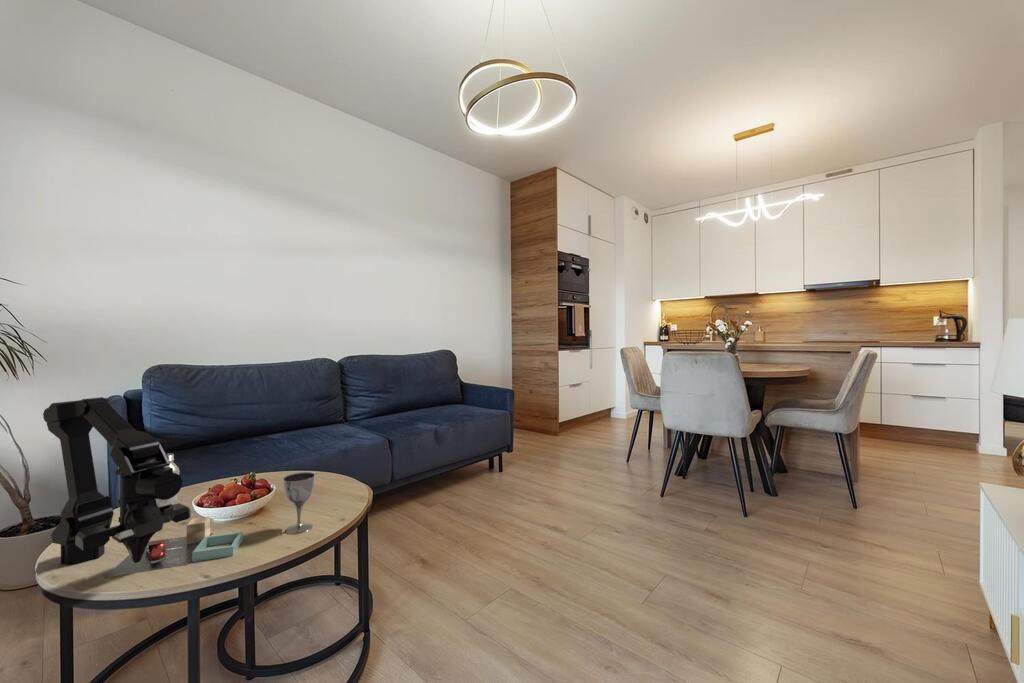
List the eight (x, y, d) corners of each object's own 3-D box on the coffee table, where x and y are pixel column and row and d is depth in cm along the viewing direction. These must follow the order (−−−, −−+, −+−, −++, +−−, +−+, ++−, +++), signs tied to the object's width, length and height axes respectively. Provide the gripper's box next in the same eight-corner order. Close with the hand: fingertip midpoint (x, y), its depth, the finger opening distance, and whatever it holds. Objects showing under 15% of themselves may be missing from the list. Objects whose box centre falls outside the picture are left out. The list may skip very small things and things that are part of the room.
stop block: (186, 544, 106) (186, 525, 106) (192, 537, 109) (192, 518, 109) (204, 541, 107) (204, 522, 107) (210, 534, 111) (210, 516, 111)
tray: (192, 565, 97) (192, 552, 97) (205, 548, 105) (205, 536, 105) (233, 558, 100) (233, 546, 100) (242, 542, 108) (242, 531, 108)
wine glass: (283, 537, 111) (284, 483, 111) (282, 526, 118) (282, 475, 118) (315, 530, 115) (316, 478, 115) (312, 520, 122) (312, 470, 122)
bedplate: (104, 581, 91) (104, 576, 91) (143, 545, 107) (143, 541, 107) (187, 568, 96) (187, 564, 96) (212, 535, 112) (212, 532, 112)
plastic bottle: (175, 515, 125) (175, 450, 125) (182, 521, 121) (183, 454, 121) (147, 523, 120) (148, 455, 120) (154, 529, 116) (155, 459, 116)
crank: (145, 551, 102) (145, 531, 102) (161, 546, 104) (162, 527, 104) (148, 568, 94) (148, 547, 94) (166, 563, 96) (166, 543, 96)
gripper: (92, 516, 81) (91, 594, 81) (201, 488, 97) (200, 553, 97) (74, 505, 86) (74, 578, 86) (180, 480, 103) (180, 541, 103)
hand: (136, 562), depth 93 cm, fingers closed
